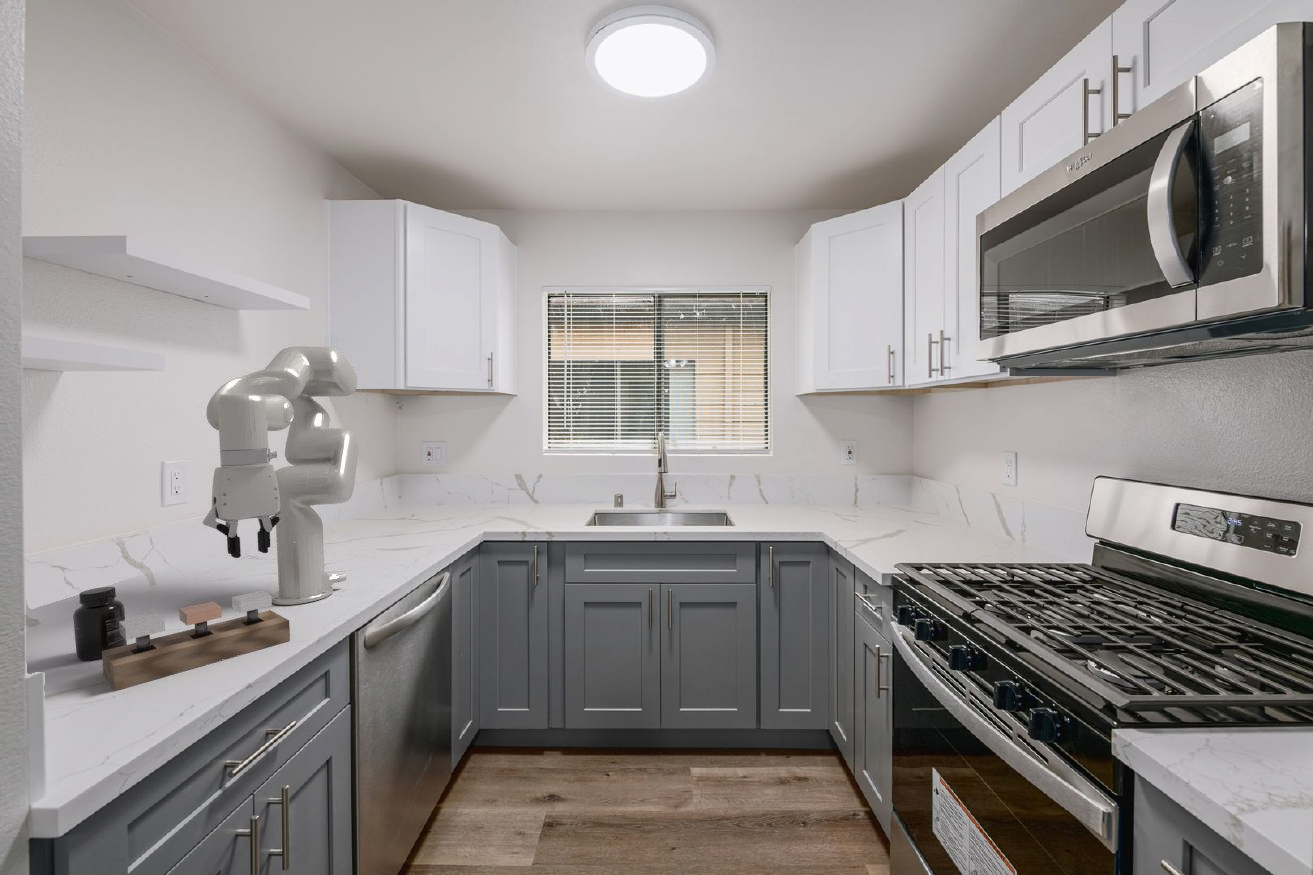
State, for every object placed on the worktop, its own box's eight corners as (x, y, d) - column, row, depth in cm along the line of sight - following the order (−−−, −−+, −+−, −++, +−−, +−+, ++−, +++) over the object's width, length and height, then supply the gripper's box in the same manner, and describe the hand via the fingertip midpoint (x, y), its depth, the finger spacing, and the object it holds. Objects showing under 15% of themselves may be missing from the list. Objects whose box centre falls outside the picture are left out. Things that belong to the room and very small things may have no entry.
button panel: (271, 629, 118) (270, 610, 118) (290, 640, 112) (289, 620, 112) (103, 674, 98) (101, 650, 98) (115, 690, 92) (113, 666, 92)
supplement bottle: (123, 643, 112) (120, 582, 111) (130, 652, 108) (126, 588, 107) (73, 655, 107) (69, 591, 106) (78, 665, 102) (74, 598, 102)
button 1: (159, 646, 102) (157, 613, 102) (166, 653, 99) (164, 619, 99) (121, 656, 98) (119, 621, 98) (127, 663, 95) (125, 628, 95)
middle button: (214, 632, 108) (212, 601, 108) (222, 638, 105) (221, 606, 105) (180, 641, 105) (178, 608, 104) (188, 647, 101) (186, 614, 101)
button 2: (263, 620, 115) (262, 590, 114) (272, 625, 112) (271, 595, 111) (233, 627, 111) (231, 597, 111) (242, 633, 108) (240, 602, 107)
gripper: (286, 455, 119) (290, 543, 119) (184, 461, 106) (189, 560, 106) (301, 456, 114) (305, 548, 115) (196, 463, 101) (201, 567, 102)
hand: (249, 553), depth 111 cm, fingers open, 3 cm apart
